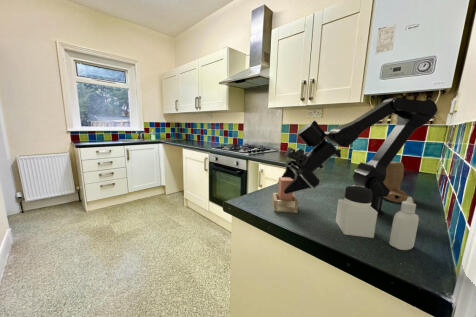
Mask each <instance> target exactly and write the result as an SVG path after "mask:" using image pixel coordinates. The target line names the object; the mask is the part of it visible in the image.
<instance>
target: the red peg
mask: <svg viewBox="0 0 476 317" xmlns="http://www.w3.org/2000/svg"><path fill="white" fill-rule="evenodd" d="M293 180H294V179H293ZM293 180H292V179H291V178H287V177H282V176H280V177H278V182H279V183H278V182H277V185H278V186H277V187H278V188H277V193H278V198H277V200H287V201H292V197H293V194H294V192H291V193H288V194H285V193H284V190H285V189H286V188H287V186H288V185H289V184H290V183H291V182H292V181H293Z"/></svg>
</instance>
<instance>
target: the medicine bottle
mask: <svg viewBox="0 0 476 317" xmlns="http://www.w3.org/2000/svg"><path fill="white" fill-rule="evenodd" d="M344 191H345V192H344V199H343V198H342V199H338V201H337V208H336V209H337V210H336V217H335V223H336V224H337V226H338V227H339V229H340V230H341V231H342V234H343V235H346V236H353V237H362V238H369V239H373V238H375V233H376V227H377V221H378V214H379V213H378V212H377V211H376V210H375V209H373V208H372V207H371V206H370V205H371V201H372V194H373V192H372V191H371V190H370V189H368V188H366V187H363V186H357V185H356V184H353V185H348V186H346V187H345V190H344Z"/></svg>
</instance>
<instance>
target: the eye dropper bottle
mask: <svg viewBox="0 0 476 317" xmlns="http://www.w3.org/2000/svg"><path fill="white" fill-rule="evenodd" d="M412 199H413V197H411V196H410V197H408V198H407V200H406V201H403V202H402V203H401V206H400V210H399V211H397V212H396V213H395V214H394V216H393V220H392V226H391V230H390V237H389V246H392V247H393V248H395V249H397V250H401V251H408V250H411V249H413V248H414V246H415V241H416V237H417V231H418V227H419V220H420V216H419V215H418V214H416V208H417V204H416V203H415V202H412Z"/></svg>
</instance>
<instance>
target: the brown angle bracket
mask: <svg viewBox="0 0 476 317" xmlns="http://www.w3.org/2000/svg"><path fill="white" fill-rule="evenodd" d="M404 167H405V166H404V163H403V162H402V161H391V163H390V164H389V165H388V167H387V168H386V178H385V180H384V182H383V183H384V184H385V185H386V187H387V188H388V189H389V190H390V193H389V194H388V196H387V197H383V199H385V200H387V201H390V202H392V203H393V202H394V203H399V204H402V202H403V201H406V200H407V198H408V197H411V196H410V195H408V194H407V193H406V192H405V191H403V190H401V185H402V181H403V178H404V171H405V169H404ZM412 202H413V203H415V200H414V198H412Z"/></svg>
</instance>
